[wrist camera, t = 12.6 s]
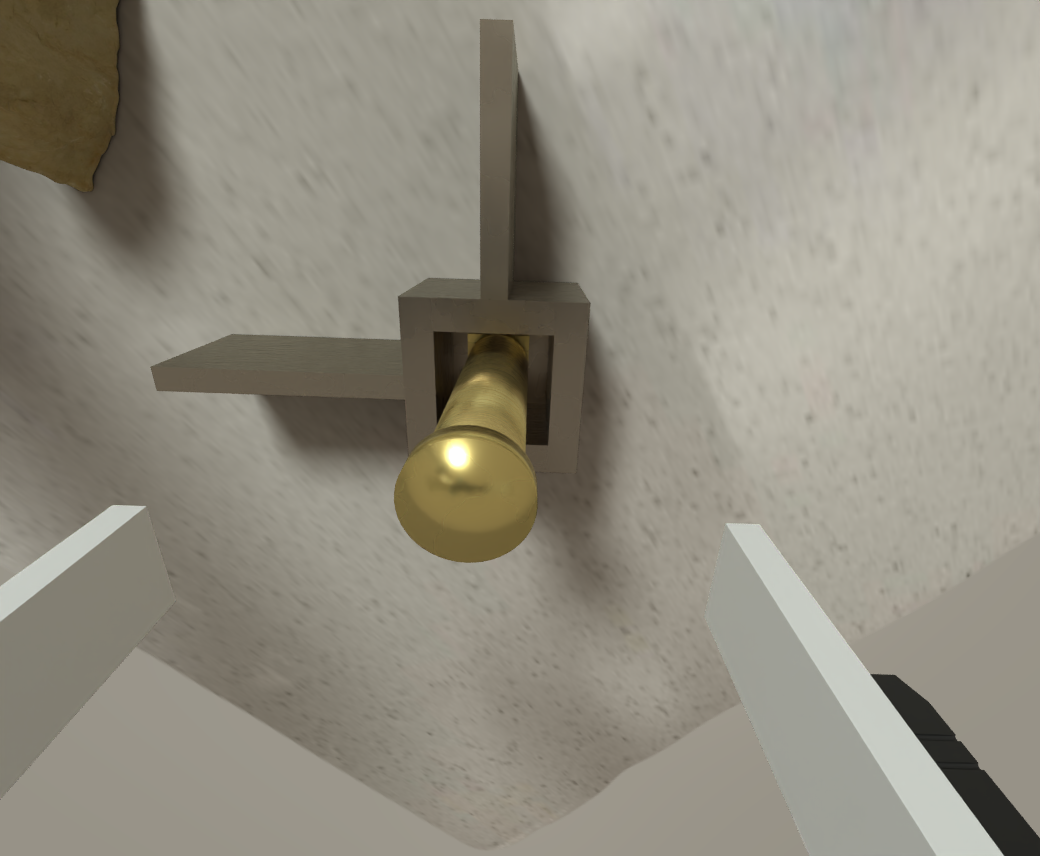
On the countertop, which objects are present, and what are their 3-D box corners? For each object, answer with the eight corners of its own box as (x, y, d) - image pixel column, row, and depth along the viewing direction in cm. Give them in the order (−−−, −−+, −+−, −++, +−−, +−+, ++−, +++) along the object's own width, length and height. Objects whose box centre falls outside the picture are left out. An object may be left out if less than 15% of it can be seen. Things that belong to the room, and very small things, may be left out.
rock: (1, -208, 20) (-195, -68, 20) (-55, -189, 15) (-307, -8, 16) (224, 77, 29) (83, 167, 30) (233, 144, 24) (64, 249, 25)
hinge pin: (463, 391, 30) (398, 559, 16) (463, 321, 29) (389, 435, 14) (533, 394, 30) (534, 565, 16) (536, 324, 29) (541, 441, 14)
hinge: (246, 409, 32) (174, 458, 26) (178, 60, 25) (54, 7, 18) (567, 421, 32) (576, 473, 26) (592, 72, 25) (613, 22, 18)
